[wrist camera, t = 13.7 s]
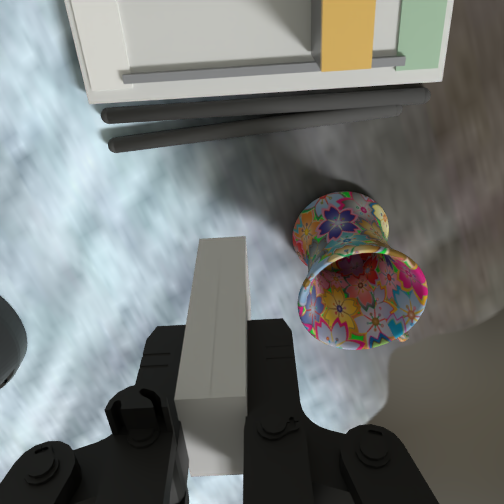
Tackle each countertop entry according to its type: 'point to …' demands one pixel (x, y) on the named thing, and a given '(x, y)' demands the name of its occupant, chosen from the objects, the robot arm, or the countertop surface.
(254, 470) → the robot arm
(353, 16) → the block
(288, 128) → the cable
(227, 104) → the cable
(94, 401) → the countertop surface
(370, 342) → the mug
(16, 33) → the countertop surface
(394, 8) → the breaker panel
